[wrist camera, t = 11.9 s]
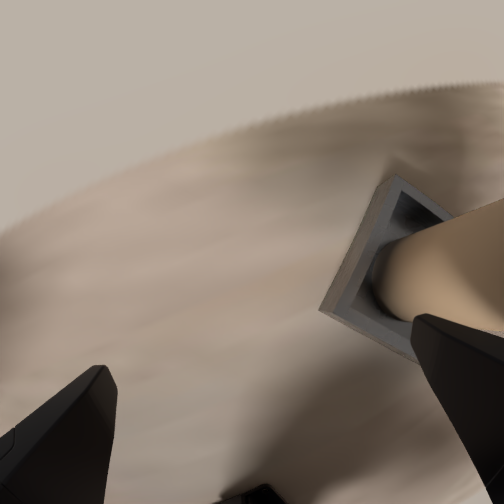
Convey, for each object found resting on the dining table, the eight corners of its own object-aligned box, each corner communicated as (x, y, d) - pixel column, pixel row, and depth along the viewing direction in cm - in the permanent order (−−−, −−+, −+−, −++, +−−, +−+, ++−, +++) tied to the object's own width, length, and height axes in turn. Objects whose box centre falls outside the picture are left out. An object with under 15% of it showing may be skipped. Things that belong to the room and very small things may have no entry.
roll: (450, 289, 21) (589, 275, 8) (398, 338, 20) (544, 365, 8) (414, 223, 22) (547, 162, 9) (356, 268, 21) (497, 230, 8)
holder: (423, 366, 21) (445, 374, 18) (318, 310, 21) (332, 313, 18) (467, 253, 22) (491, 249, 19) (377, 187, 22) (395, 173, 19)
